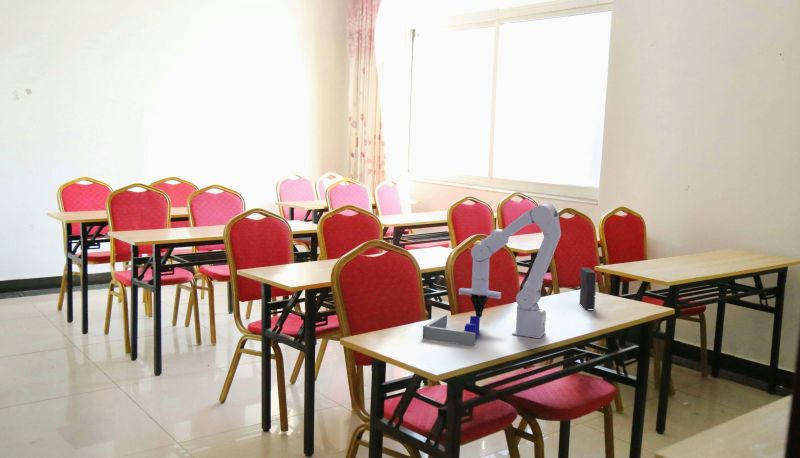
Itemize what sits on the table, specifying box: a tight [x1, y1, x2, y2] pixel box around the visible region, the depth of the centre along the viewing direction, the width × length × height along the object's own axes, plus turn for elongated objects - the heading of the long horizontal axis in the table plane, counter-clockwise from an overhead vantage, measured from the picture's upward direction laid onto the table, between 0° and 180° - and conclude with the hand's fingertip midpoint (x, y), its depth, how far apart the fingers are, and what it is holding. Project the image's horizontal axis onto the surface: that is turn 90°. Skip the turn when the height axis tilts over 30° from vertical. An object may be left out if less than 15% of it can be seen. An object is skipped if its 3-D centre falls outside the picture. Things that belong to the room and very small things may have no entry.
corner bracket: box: [422, 313, 476, 347], centre depth 241 cm, size 17×19×4 cm
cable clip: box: [463, 315, 481, 342], centre depth 239 cm, size 12×4×6 cm, turn 167°
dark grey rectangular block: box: [579, 267, 597, 310], centre depth 288 cm, size 11×4×15 cm, turn 179°
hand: (478, 316), depth 252 cm, fingers closed
